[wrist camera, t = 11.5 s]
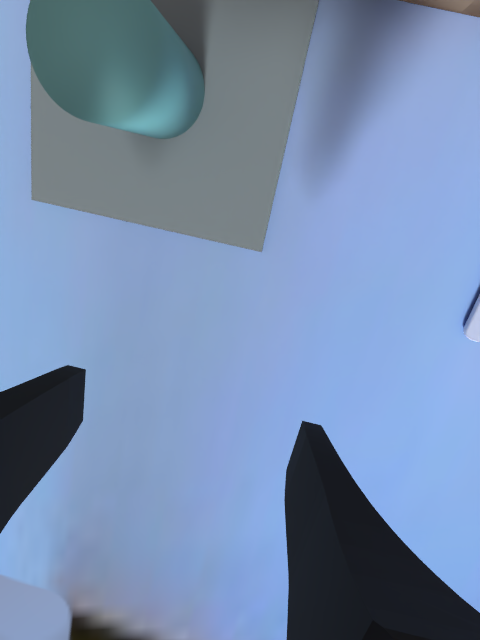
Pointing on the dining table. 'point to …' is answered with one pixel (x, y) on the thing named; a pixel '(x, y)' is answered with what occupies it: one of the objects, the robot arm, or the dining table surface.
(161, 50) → the peg
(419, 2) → the holder block
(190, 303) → the dining table surface
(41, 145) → the slate mat
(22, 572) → the dining table surface
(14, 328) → the dining table surface
